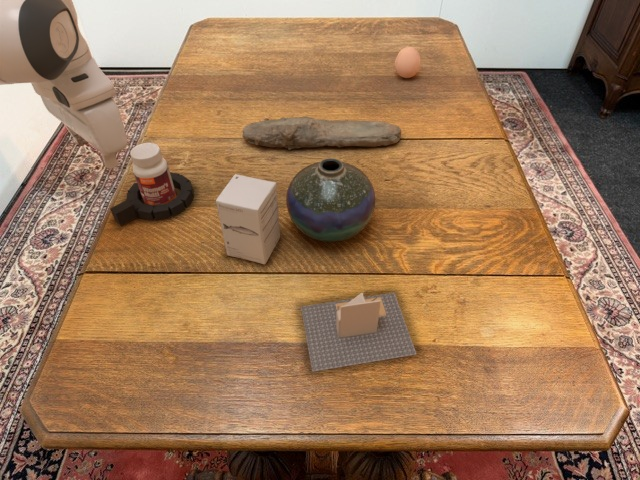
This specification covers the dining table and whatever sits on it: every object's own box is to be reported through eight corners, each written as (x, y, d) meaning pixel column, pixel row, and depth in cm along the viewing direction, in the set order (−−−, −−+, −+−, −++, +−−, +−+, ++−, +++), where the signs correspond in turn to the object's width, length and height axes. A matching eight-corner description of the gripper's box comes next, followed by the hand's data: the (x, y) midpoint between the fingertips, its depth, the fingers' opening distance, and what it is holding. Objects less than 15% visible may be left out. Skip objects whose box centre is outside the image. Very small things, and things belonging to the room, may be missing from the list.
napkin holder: (334, 318, 71) (334, 287, 66) (378, 312, 72) (382, 280, 67) (338, 338, 69) (339, 307, 63) (384, 330, 70) (389, 299, 64)
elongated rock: (402, 157, 102) (396, 134, 110) (406, 136, 99) (400, 113, 106) (240, 151, 101) (245, 128, 109) (238, 129, 98) (244, 107, 105)
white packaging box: (225, 256, 80) (213, 200, 71) (244, 228, 85) (234, 171, 76) (265, 266, 79) (257, 210, 70) (282, 237, 84) (276, 180, 75)
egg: (392, 71, 128) (395, 41, 123) (417, 71, 128) (421, 42, 122) (394, 82, 124) (397, 52, 118) (419, 82, 123) (424, 53, 118)
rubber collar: (135, 239, 84) (130, 227, 82) (101, 208, 90) (96, 196, 88) (205, 198, 91) (202, 186, 89) (170, 172, 97) (167, 160, 95)
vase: (271, 221, 86) (264, 162, 77) (334, 187, 93) (335, 128, 84) (325, 270, 78) (325, 209, 69) (390, 228, 85) (398, 168, 75)
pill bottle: (148, 214, 88) (130, 164, 80) (141, 195, 92) (123, 146, 84) (180, 203, 90) (166, 154, 82) (172, 185, 94) (157, 137, 86)
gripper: (10, 58, 71) (49, 138, 80) (75, 104, 60) (110, 189, 70) (52, 45, 74) (84, 124, 83) (120, 87, 64) (147, 170, 73)
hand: (96, 154), depth 77 cm, fingers open, 8 cm apart
